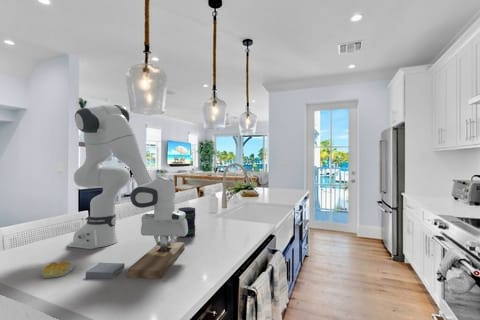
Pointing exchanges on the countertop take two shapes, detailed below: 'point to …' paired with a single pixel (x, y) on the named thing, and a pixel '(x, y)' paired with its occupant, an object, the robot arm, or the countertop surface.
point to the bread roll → (56, 269)
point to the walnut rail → (155, 262)
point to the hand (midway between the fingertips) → (164, 245)
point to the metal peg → (164, 243)
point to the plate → (105, 270)
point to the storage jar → (189, 221)
